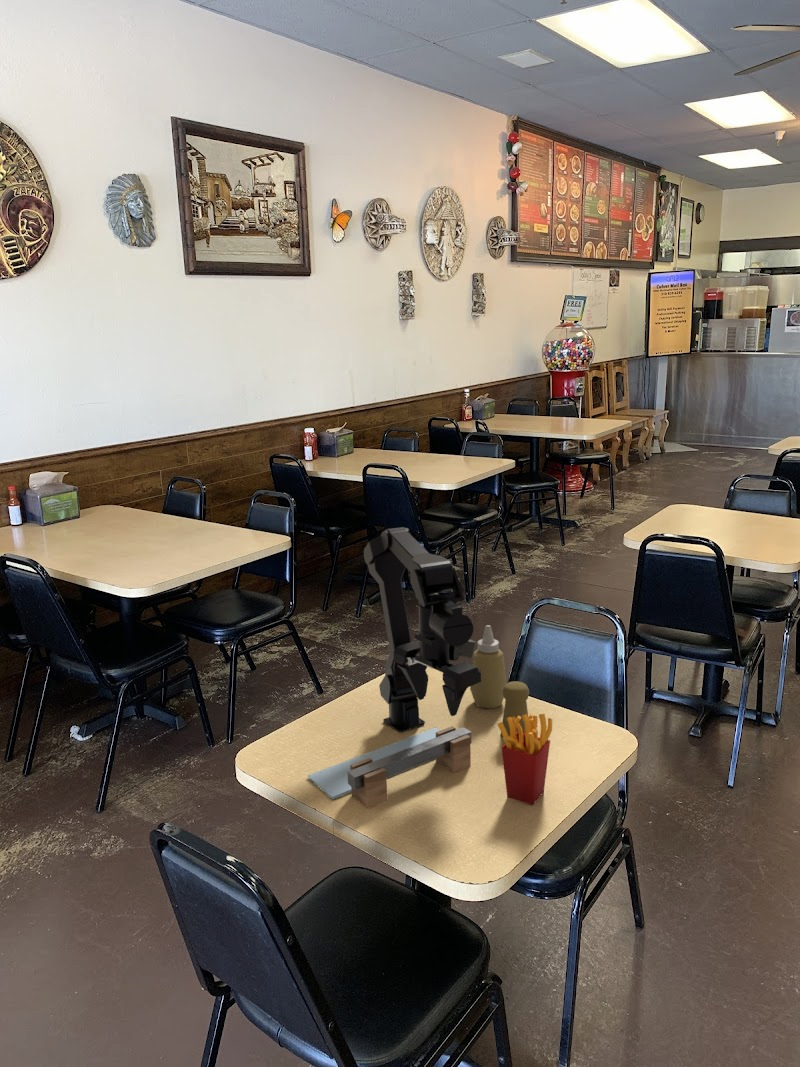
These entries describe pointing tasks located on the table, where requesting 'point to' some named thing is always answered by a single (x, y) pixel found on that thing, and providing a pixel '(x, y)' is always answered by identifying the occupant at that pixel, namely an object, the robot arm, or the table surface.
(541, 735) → the french fries
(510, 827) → the table surface
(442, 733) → the stand far
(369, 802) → the stand near
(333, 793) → the mat
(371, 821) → the table surface
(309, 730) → the table surface
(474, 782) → the table surface
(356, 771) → the rail
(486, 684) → the squeeze bottle
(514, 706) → the pepper mill
